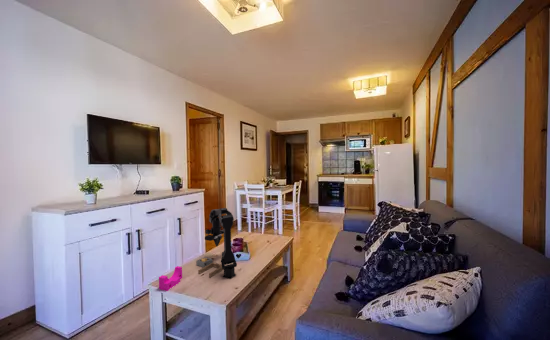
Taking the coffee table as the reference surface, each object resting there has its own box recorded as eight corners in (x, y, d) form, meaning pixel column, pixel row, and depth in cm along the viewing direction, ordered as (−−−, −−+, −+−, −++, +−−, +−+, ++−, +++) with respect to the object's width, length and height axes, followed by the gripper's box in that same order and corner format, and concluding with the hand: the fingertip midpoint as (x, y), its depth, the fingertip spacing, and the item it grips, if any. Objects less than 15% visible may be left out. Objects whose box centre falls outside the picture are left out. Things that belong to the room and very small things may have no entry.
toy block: (167, 291, 129) (167, 278, 129) (159, 289, 131) (158, 277, 131) (185, 278, 143) (185, 267, 143) (177, 277, 145) (177, 266, 145)
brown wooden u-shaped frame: (224, 268, 156) (224, 265, 155) (210, 277, 144) (210, 273, 144) (213, 265, 161) (212, 262, 161) (198, 273, 149) (198, 270, 149)
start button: (208, 262, 164) (208, 258, 164) (204, 264, 161) (204, 260, 161) (204, 261, 166) (204, 257, 166) (200, 263, 163) (200, 259, 163)
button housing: (212, 263, 165) (212, 258, 165) (204, 267, 158) (204, 263, 158) (204, 261, 169) (204, 256, 169) (196, 265, 162) (196, 260, 162)
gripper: (217, 221, 181) (217, 240, 181) (199, 227, 165) (199, 248, 165) (227, 223, 176) (228, 243, 176) (210, 229, 159) (210, 251, 160)
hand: (216, 246), depth 169 cm, fingers closed
